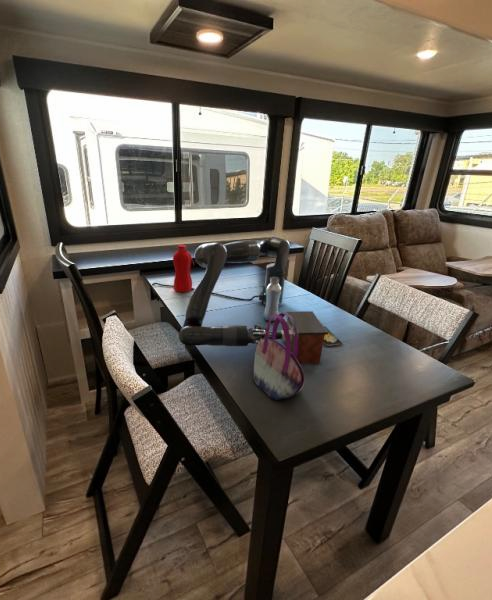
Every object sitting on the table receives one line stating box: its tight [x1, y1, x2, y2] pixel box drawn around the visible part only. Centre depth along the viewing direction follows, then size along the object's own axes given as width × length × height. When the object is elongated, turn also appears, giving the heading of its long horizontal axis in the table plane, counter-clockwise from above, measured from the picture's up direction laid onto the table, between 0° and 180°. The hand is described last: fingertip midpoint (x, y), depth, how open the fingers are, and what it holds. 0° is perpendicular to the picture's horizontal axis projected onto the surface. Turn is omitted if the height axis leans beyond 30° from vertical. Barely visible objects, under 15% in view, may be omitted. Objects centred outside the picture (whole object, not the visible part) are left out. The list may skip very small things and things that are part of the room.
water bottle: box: [172, 244, 195, 293], centre depth 167 cm, size 9×11×25 cm
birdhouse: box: [284, 310, 328, 365], centre depth 115 cm, size 10×17×13 cm, turn 4°
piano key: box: [280, 329, 293, 342], centre depth 114 cm, size 6×3×3 cm, turn 94°
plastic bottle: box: [263, 277, 281, 322], centre depth 137 cm, size 6×7×20 cm
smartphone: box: [323, 325, 343, 347], centre depth 128 cm, size 7×1×15 cm
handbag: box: [253, 312, 306, 401], centre depth 94 cm, size 21×10×25 cm, turn 31°
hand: (281, 335), depth 114 cm, fingers closed
